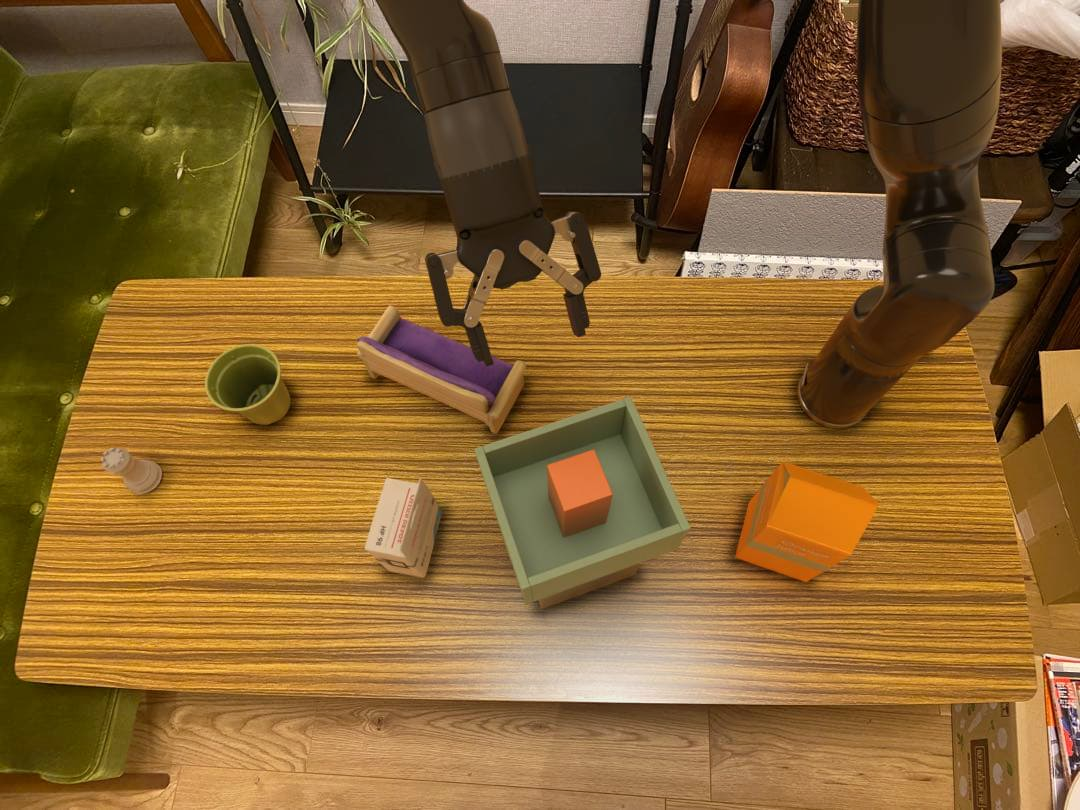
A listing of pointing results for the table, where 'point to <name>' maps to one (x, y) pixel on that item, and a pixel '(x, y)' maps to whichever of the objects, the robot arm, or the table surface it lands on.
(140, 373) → the table surface
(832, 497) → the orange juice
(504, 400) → the toy sofa
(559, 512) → the orange rectangular block
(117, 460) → the rook chess piece
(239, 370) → the plant pot
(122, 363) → the table surface
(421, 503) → the ink box
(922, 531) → the table surface
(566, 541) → the square open-top tray
